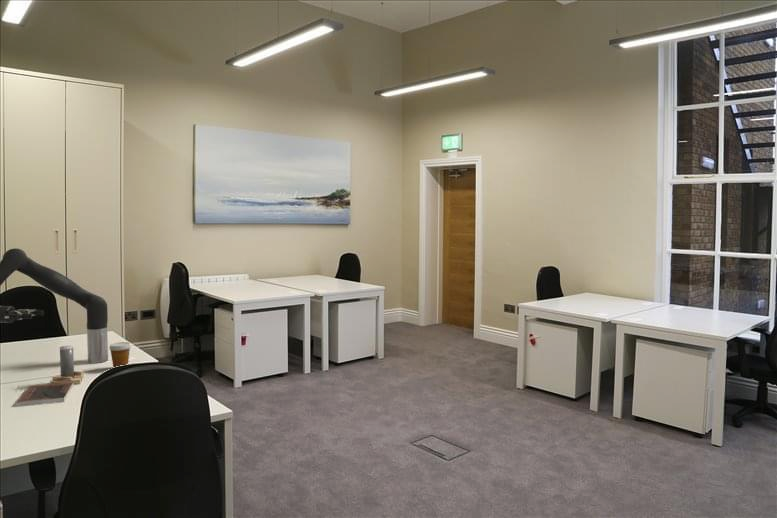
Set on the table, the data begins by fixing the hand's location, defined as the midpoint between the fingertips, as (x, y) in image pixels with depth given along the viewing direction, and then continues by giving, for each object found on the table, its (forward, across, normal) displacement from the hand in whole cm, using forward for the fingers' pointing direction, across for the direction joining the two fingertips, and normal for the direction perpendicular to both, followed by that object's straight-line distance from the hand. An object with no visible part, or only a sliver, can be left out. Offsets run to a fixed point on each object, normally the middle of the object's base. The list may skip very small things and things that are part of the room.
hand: (37, 314), depth 249 cm
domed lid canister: (+14, -3, +28) cm, 31 cm away
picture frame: (+16, -21, +31) cm, 41 cm away
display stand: (+14, -3, +30) cm, 33 cm away
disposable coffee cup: (+27, +20, +30) cm, 45 cm away
